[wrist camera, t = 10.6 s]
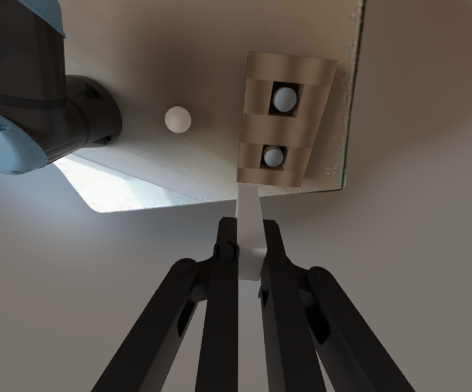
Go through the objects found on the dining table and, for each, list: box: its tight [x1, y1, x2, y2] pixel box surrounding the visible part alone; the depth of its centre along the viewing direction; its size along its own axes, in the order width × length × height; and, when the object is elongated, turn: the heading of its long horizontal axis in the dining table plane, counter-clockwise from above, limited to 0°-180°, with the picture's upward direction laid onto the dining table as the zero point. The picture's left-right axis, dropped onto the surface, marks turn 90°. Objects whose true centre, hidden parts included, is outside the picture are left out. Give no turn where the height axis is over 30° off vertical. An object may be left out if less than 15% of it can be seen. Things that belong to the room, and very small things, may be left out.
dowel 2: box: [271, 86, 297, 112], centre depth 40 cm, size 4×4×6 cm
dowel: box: [262, 144, 283, 167], centre depth 46 cm, size 4×4×6 cm
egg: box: [165, 106, 191, 133], centre depth 42 cm, size 5×5×8 cm
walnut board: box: [237, 52, 339, 187], centre depth 43 cm, size 16×26×6 cm, turn 175°
